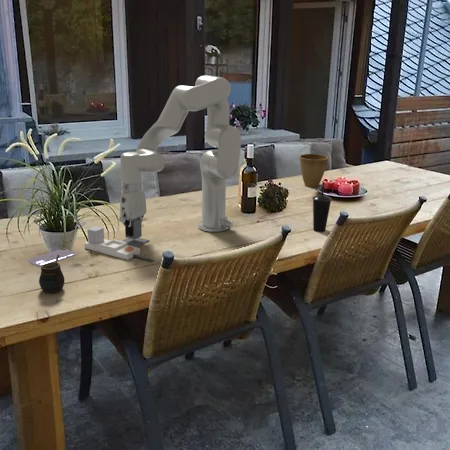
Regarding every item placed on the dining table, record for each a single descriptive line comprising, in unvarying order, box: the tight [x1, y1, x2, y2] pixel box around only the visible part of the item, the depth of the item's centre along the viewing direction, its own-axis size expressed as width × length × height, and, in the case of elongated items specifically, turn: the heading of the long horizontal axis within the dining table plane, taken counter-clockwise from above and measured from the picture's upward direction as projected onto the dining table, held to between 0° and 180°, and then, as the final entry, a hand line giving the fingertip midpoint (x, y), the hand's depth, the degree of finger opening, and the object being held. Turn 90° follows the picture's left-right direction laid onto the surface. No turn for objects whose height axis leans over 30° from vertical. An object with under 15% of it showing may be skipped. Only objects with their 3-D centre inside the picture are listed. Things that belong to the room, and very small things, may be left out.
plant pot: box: [299, 153, 329, 188], centre depth 276 cm, size 15×15×16 cm
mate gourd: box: [38, 255, 65, 294], centre depth 154 cm, size 7×8×10 cm
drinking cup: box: [312, 182, 332, 233], centre depth 208 cm, size 8×8×20 cm
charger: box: [125, 218, 143, 240], centre depth 192 cm, size 4×4×7 cm
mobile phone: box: [27, 248, 77, 267], centre depth 179 cm, size 8×1×15 cm
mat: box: [122, 237, 150, 248], centre depth 194 cm, size 8×8×1 cm
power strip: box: [84, 225, 155, 263], centre depth 182 cm, size 28×7×7 cm, turn 60°
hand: (133, 233), depth 193 cm, fingers closed on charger, 4 cm apart
